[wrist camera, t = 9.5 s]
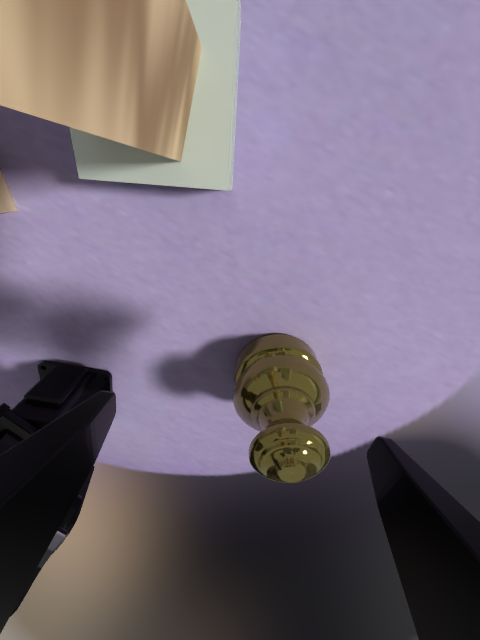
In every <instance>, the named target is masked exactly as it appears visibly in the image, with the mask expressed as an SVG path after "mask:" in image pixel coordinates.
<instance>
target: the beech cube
mask: <svg viewBox="0 0 480 640" xmlns="http://www.w3.org/2000/svg"><path fill="white" fill-rule="evenodd" d="M13 211H18V209H17V207H16V205H15V202H14V200H13V198H12V195H11V193H10V191H9V188H8V186H7V183H6V181H5V179H4V176H3V174H2V172H1V169H0V213H5V212H13Z"/></svg>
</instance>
